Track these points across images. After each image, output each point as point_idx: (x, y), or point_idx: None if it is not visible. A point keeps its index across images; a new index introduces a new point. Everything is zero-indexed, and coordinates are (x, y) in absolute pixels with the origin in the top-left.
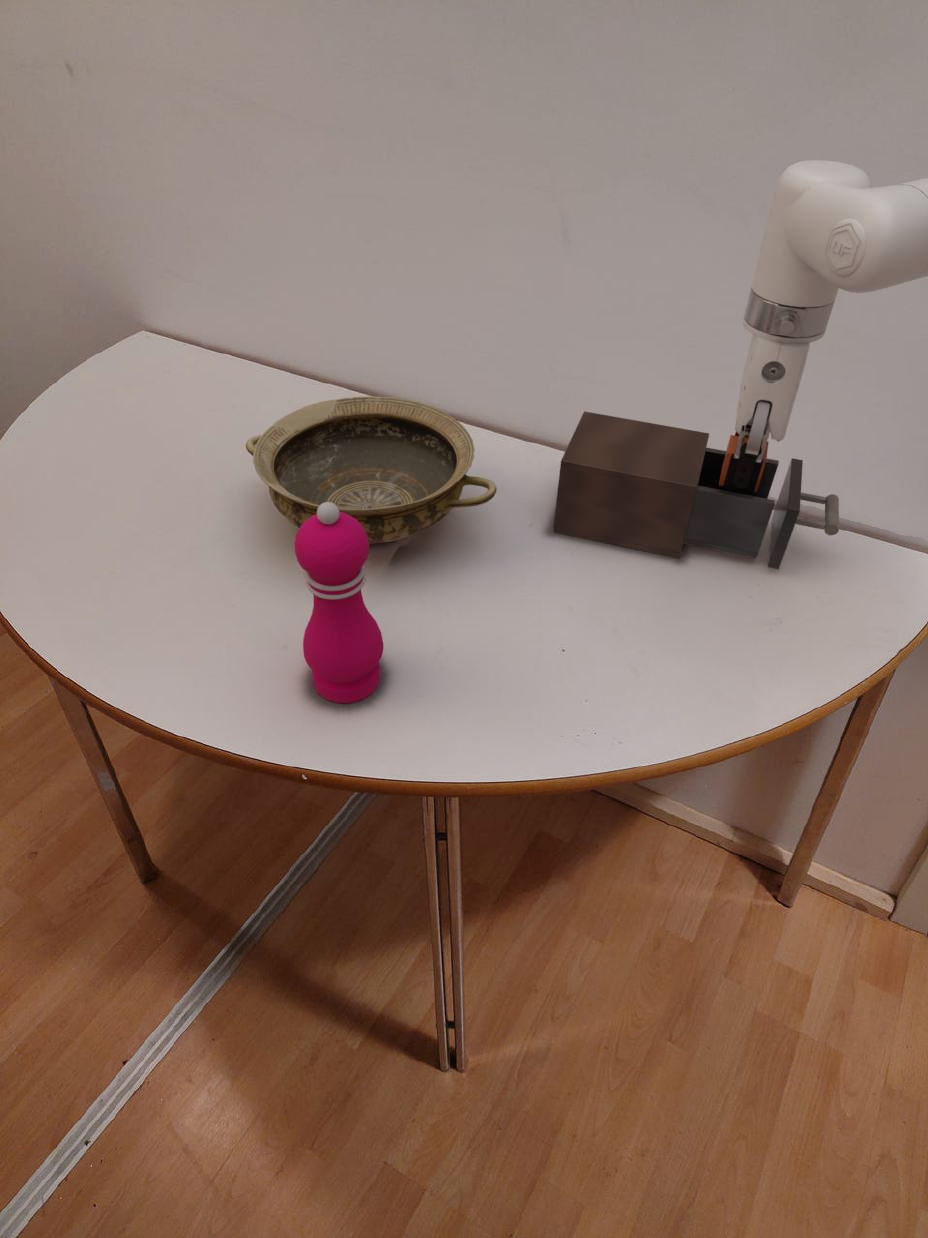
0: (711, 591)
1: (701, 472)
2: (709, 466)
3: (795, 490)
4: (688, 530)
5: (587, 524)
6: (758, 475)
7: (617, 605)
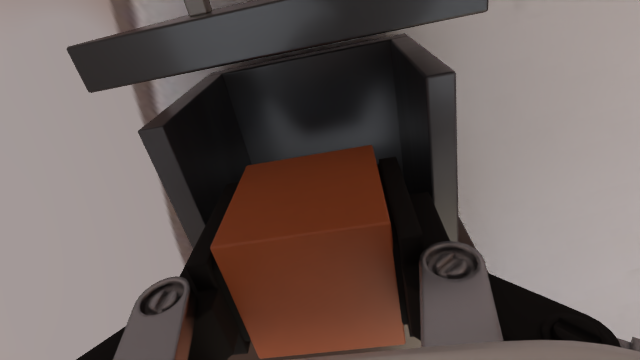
0: (523, 90)
1: None
2: None
3: (327, 16)
4: None
5: None
6: (406, 192)
7: (610, 220)
